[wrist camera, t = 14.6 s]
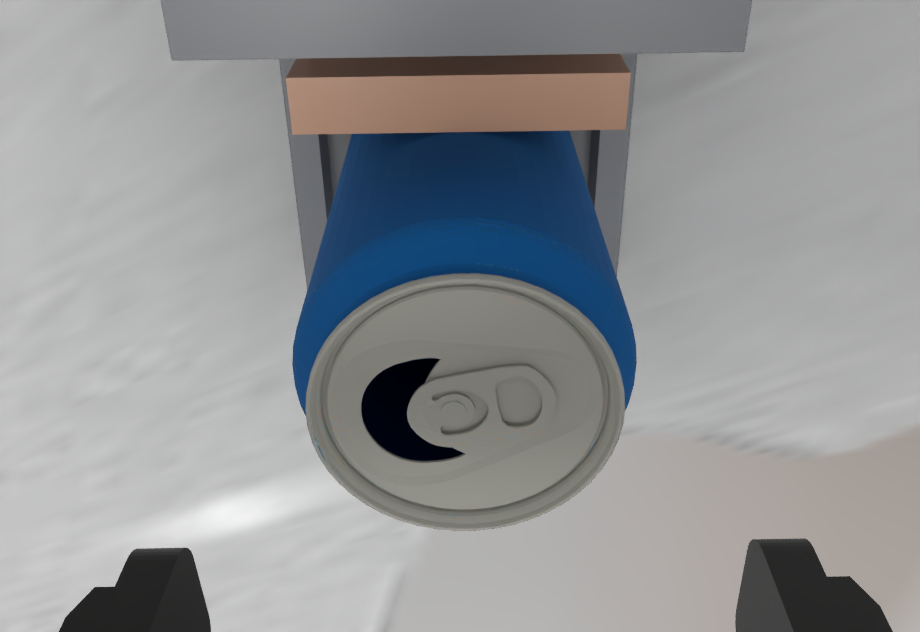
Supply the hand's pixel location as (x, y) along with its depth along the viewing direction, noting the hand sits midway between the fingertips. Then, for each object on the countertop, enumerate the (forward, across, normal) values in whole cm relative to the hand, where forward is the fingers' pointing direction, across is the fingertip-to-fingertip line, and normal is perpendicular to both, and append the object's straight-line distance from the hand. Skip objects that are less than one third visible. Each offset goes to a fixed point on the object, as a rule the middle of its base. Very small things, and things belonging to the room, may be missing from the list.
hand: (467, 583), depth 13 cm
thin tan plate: (+15, 0, -4) cm, 16 cm away
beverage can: (+16, 0, -1) cm, 16 cm away
